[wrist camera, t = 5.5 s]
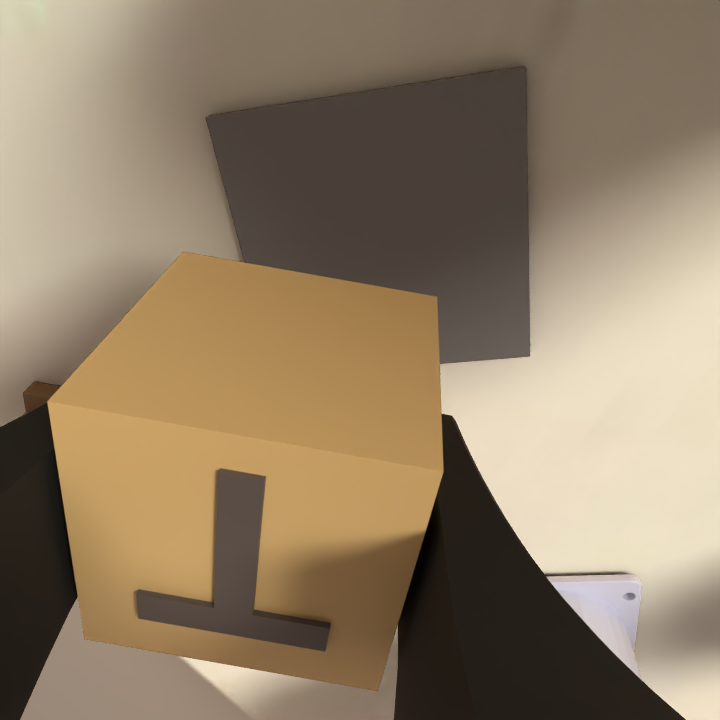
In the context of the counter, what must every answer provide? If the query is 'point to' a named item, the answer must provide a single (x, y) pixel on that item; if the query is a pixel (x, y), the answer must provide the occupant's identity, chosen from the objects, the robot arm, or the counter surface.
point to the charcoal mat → (396, 198)
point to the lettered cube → (253, 468)
